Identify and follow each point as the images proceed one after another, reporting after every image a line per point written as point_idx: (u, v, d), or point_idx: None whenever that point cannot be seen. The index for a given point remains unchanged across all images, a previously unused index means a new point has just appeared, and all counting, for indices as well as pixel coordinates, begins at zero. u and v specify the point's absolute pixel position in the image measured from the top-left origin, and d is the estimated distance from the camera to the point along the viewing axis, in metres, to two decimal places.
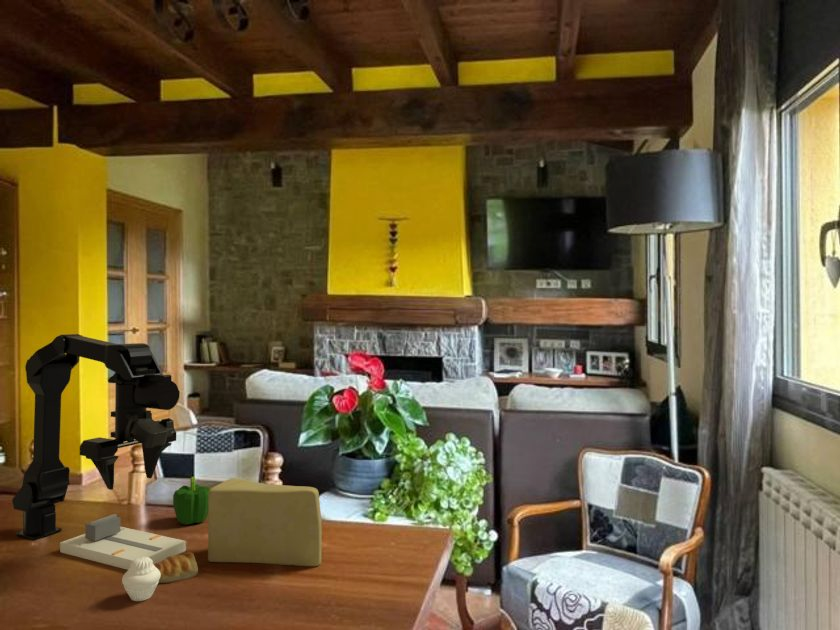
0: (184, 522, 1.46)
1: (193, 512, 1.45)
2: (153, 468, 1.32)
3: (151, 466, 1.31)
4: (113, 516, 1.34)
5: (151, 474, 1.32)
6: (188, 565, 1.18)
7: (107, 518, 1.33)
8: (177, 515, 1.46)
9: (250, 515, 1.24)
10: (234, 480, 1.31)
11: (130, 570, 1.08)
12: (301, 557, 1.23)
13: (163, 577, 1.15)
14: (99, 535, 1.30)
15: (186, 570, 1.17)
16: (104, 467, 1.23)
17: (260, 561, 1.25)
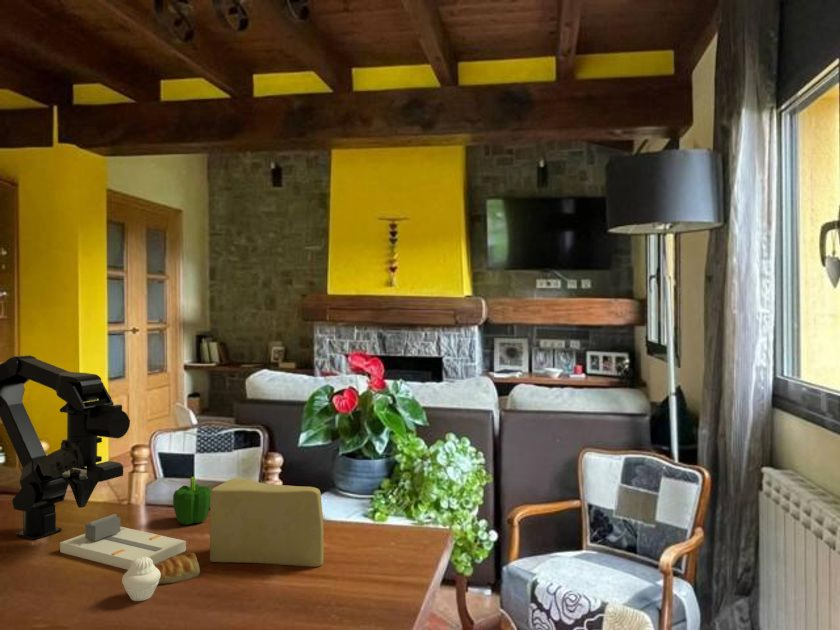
0: (184, 522, 1.46)
1: (193, 512, 1.45)
2: (79, 498, 1.34)
3: None
4: (113, 516, 1.34)
5: (79, 504, 1.35)
6: (190, 565, 1.18)
7: (107, 518, 1.33)
8: (177, 515, 1.46)
9: (252, 515, 1.24)
10: (236, 480, 1.31)
11: (130, 570, 1.08)
12: (303, 557, 1.23)
13: (165, 578, 1.15)
14: (99, 535, 1.30)
15: (188, 570, 1.17)
16: None
17: (262, 561, 1.24)
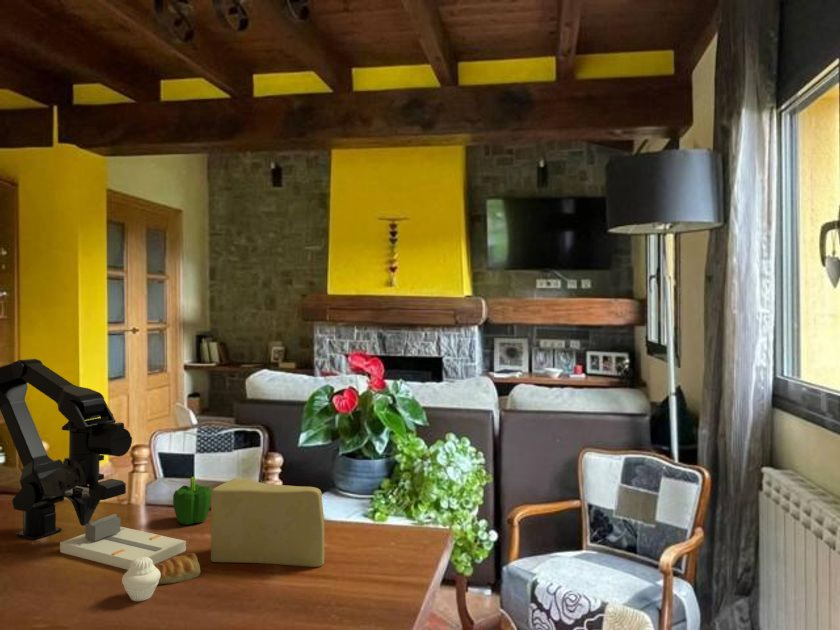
0: (184, 522, 1.46)
1: (193, 512, 1.45)
2: (81, 517, 1.34)
3: None
4: (113, 516, 1.34)
5: (82, 522, 1.34)
6: (191, 565, 1.17)
7: (107, 518, 1.33)
8: (177, 515, 1.46)
9: (253, 515, 1.24)
10: (237, 480, 1.31)
11: (130, 570, 1.08)
12: (304, 557, 1.23)
13: (166, 578, 1.15)
14: (99, 535, 1.30)
15: (189, 570, 1.17)
16: None
17: (263, 561, 1.24)
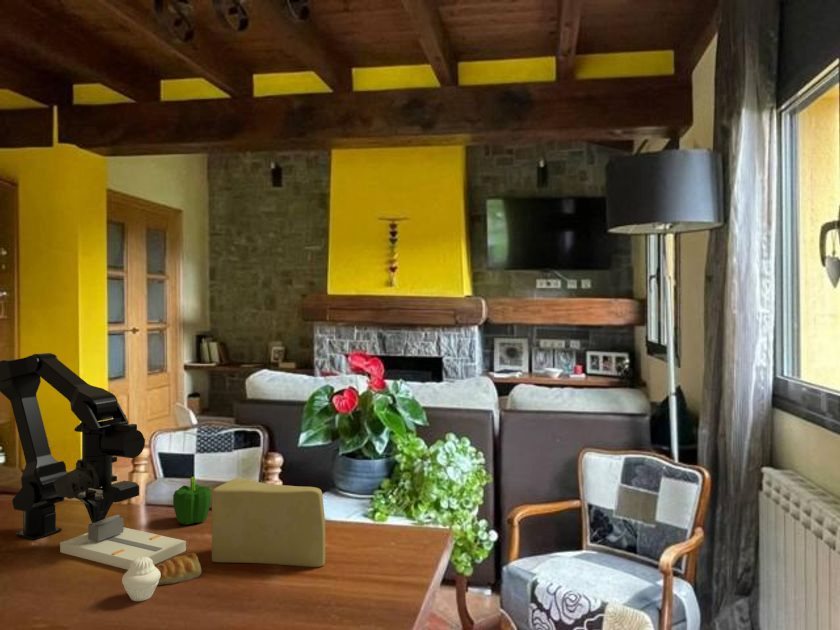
0: (184, 522, 1.46)
1: (193, 512, 1.45)
2: (94, 519, 1.32)
3: None
4: (116, 517, 1.34)
5: None
6: (192, 565, 1.17)
7: (110, 519, 1.33)
8: (177, 515, 1.46)
9: (254, 515, 1.24)
10: (238, 480, 1.31)
11: (130, 570, 1.08)
12: (305, 557, 1.23)
13: (167, 579, 1.15)
14: (102, 536, 1.30)
15: (190, 571, 1.17)
16: None
17: (264, 561, 1.24)
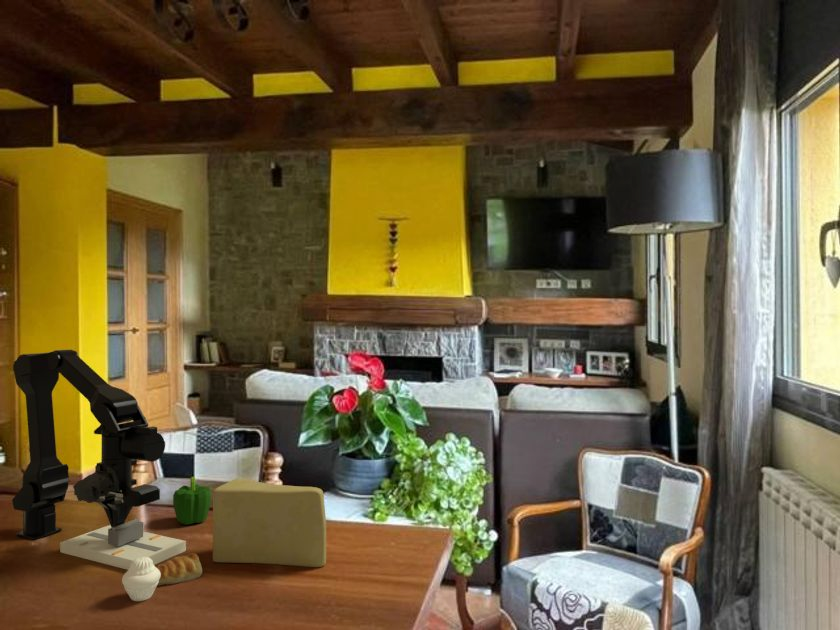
0: (184, 522, 1.46)
1: (193, 512, 1.45)
2: (114, 523, 1.30)
3: None
4: (136, 521, 1.32)
5: None
6: (193, 566, 1.17)
7: (130, 523, 1.30)
8: (177, 515, 1.46)
9: (255, 515, 1.24)
10: (239, 480, 1.31)
11: (130, 570, 1.08)
12: (306, 557, 1.23)
13: (168, 579, 1.15)
14: (122, 540, 1.27)
15: (191, 571, 1.17)
16: None
17: (265, 561, 1.24)
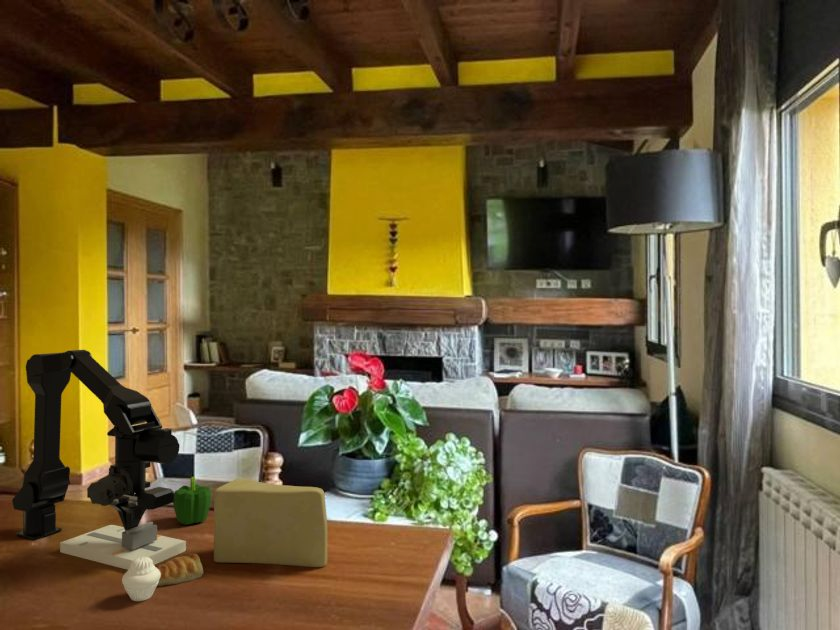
0: (184, 522, 1.46)
1: (193, 512, 1.45)
2: (128, 526, 1.28)
3: None
4: (149, 524, 1.30)
5: None
6: (194, 566, 1.17)
7: (144, 526, 1.29)
8: (177, 515, 1.46)
9: (256, 516, 1.24)
10: (240, 480, 1.31)
11: (130, 570, 1.08)
12: (307, 558, 1.23)
13: (169, 579, 1.14)
14: (136, 544, 1.26)
15: (192, 571, 1.17)
16: None
17: (266, 562, 1.24)
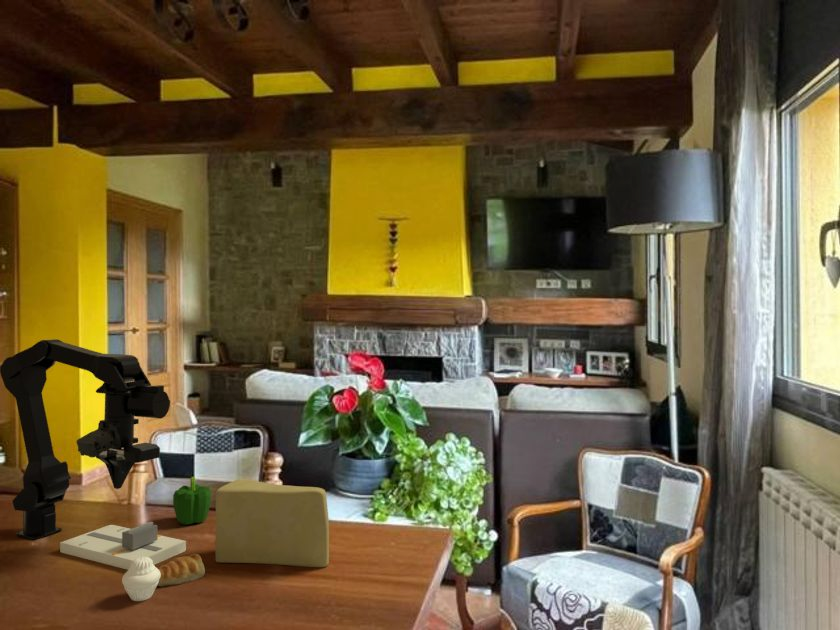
0: (184, 522, 1.46)
1: (193, 512, 1.45)
2: (115, 479, 1.34)
3: None
4: (150, 524, 1.30)
5: (115, 485, 1.34)
6: (196, 566, 1.17)
7: (144, 526, 1.29)
8: (177, 515, 1.46)
9: (258, 516, 1.24)
10: (241, 480, 1.30)
11: (130, 570, 1.08)
12: (308, 558, 1.23)
13: (171, 579, 1.14)
14: (136, 544, 1.26)
15: (194, 571, 1.17)
16: None
17: (267, 562, 1.24)
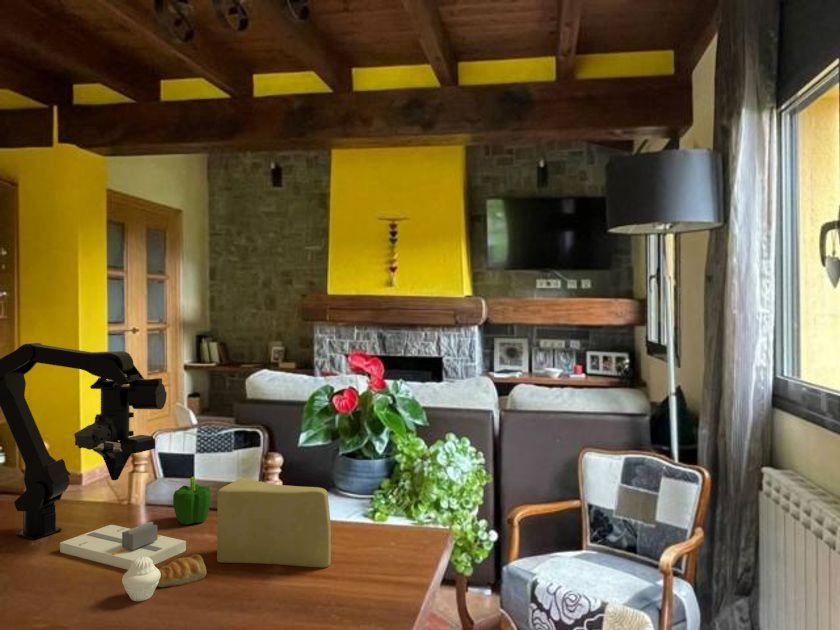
0: (184, 522, 1.46)
1: (193, 511, 1.45)
2: (112, 471, 1.39)
3: None
4: (150, 524, 1.30)
5: (112, 476, 1.39)
6: (198, 567, 1.17)
7: (144, 526, 1.29)
8: (177, 515, 1.46)
9: (259, 516, 1.24)
10: (243, 480, 1.30)
11: (130, 570, 1.08)
12: (310, 558, 1.23)
13: (173, 580, 1.14)
14: (136, 544, 1.26)
15: (196, 572, 1.16)
16: None
17: (269, 562, 1.24)
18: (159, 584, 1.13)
